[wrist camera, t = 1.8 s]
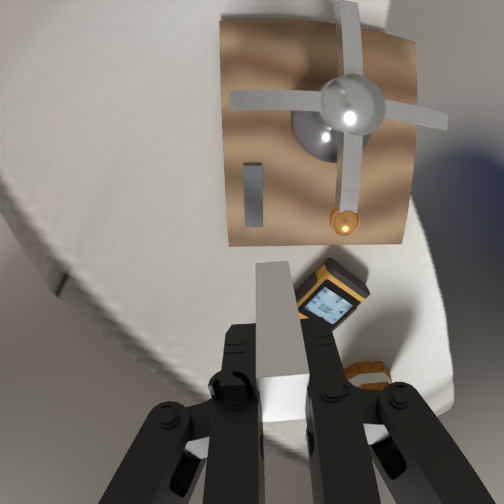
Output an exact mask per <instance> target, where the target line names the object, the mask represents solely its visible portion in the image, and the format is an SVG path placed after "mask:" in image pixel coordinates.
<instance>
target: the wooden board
mask: <svg viewBox="0 0 504 504" xmlns="http://www.w3.org/2000/svg"><path fill="white" fill-rule="evenodd" d="M360 29H361V28H360ZM361 42H362V59H363V76H365V77H367V78H368V79H370V80H371V81H373V82H374V83H375V84H376V85H377V86H378V88H379V89H380V91H381V92H382V94H383V97H384V100H390V101H395V102H400V103H405V104H410V105H415V106H417V71H416V54H415V42H413V41H410V40H406V39H403V38H400V37H396V36H392V35H388V34H384V33H380V32H376V31H371V30H366V29H361ZM220 68H221V101H222V127H223V150H224V170H225V189H226V207H227V223H228V239H229V247H239V246H296V245H366V244H402V240H403V235H404V230H405V224H406V219H407V213H408V207H409V200H410V193H411V185H412V177H413V168H414V158H415V145H416V127H417V124H412V123H407V122H401V121H396V120H389V119H383V121H382V123H381V125H380V126H379V127H378V128H377V129H376V130H375V131H373V132H372V133H371V134H370V138H369V141H368V143H367V145H366V146H365V148H364V149H363V150H362V162H361V176H360V188H359V199H358V209H357V211H358V213H359V216H360V225H359V227H358V229H357V230H356V231H355V232H354V233H353V234H351V235H348V236H342V235H339V234H337V233H335V232H334V231H333V230H332V228H331V226H330V223H329V216H330V213H331V211H332V210H333V209H334V208H335V194H336V178H337V163H329V162H325V161H321V160H319V159H317V158H315V157H313V156H312V155H310V154H309V153H307V152H306V151H305V150H304V149H303V148H302V147H301V146H300V145H299V144H298V142H297V141H296V139H295V137H294V134H293V131H292V127H291V116H292V111H284V110H257V111H230V95H229V91H236V90H301V91H310V90H312V89H314V88H317V87H318V86H319V85H321V84H323V83H326V82H328V81H330V80H333V79H335V78H337V77H338V55H337V36H336V24H330V23H322V22H313V21H301V20H282V19H244V20H226V21H220Z"/></svg>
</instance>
